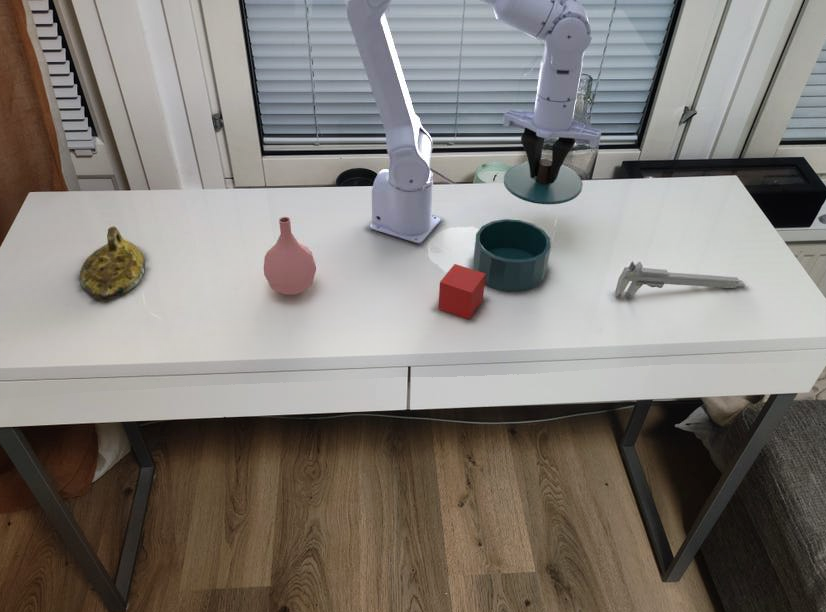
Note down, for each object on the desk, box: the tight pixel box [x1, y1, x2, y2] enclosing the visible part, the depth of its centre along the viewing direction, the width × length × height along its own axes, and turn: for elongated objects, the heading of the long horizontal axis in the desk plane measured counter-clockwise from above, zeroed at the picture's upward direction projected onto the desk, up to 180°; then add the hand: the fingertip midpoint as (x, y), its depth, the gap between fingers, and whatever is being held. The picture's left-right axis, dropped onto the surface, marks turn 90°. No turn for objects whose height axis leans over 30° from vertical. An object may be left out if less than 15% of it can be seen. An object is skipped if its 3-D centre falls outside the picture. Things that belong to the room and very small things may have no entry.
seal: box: [79, 225, 146, 302], centre depth 115 cm, size 9×5×15 cm
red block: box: [437, 263, 486, 320], centre depth 110 cm, size 5×5×5 cm
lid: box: [503, 157, 584, 205], centre depth 117 cm, size 12×12×4 cm
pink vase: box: [263, 216, 317, 295], centre depth 110 cm, size 8×8×12 cm
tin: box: [472, 218, 552, 293], centre depth 116 cm, size 11×11×6 cm
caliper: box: [614, 260, 746, 299], centre depth 112 cm, size 20×1×6 cm, turn 99°
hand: (543, 177), depth 118 cm, fingers closed on lid, 2 cm apart
